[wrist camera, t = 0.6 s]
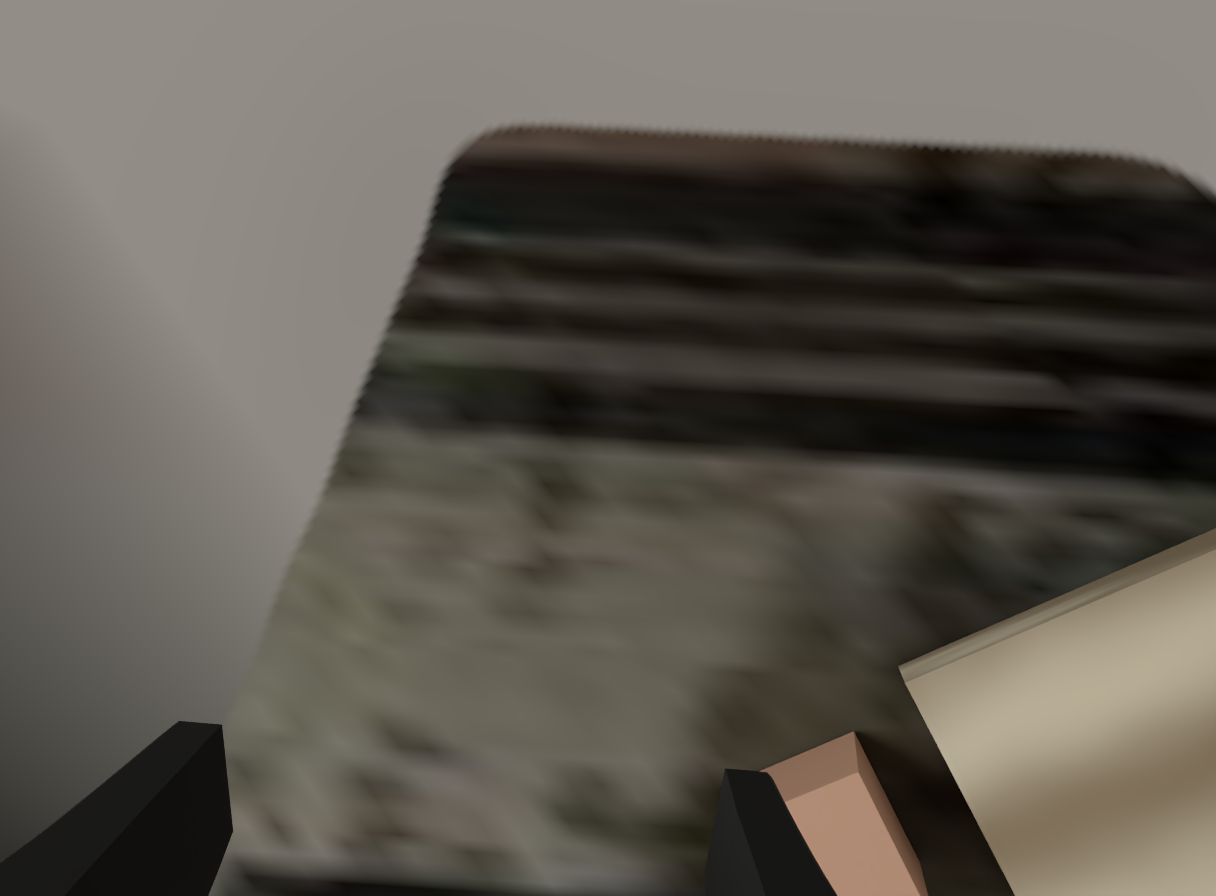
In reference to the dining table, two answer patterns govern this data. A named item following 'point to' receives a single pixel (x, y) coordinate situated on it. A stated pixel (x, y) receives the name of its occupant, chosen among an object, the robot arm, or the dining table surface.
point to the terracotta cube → (848, 821)
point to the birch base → (1090, 731)
